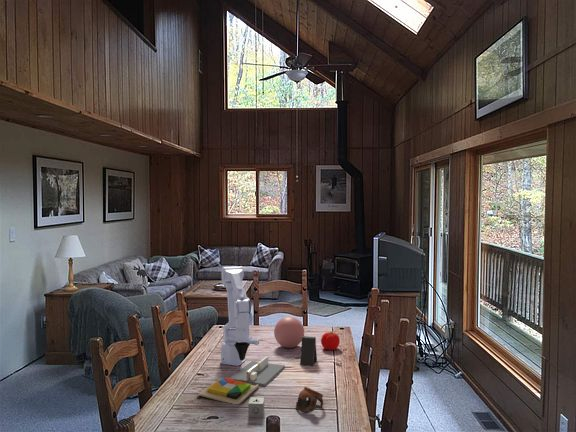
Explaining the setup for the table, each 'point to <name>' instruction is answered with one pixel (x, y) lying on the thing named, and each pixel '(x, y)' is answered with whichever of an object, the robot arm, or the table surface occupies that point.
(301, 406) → the pottery mug
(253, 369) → the hinge leaf
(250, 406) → the dice cube
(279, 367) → the hinge base
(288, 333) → the balloon
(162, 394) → the table surface
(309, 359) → the phone stand
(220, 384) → the wooden puzzle
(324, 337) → the tomato
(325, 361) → the table surface
